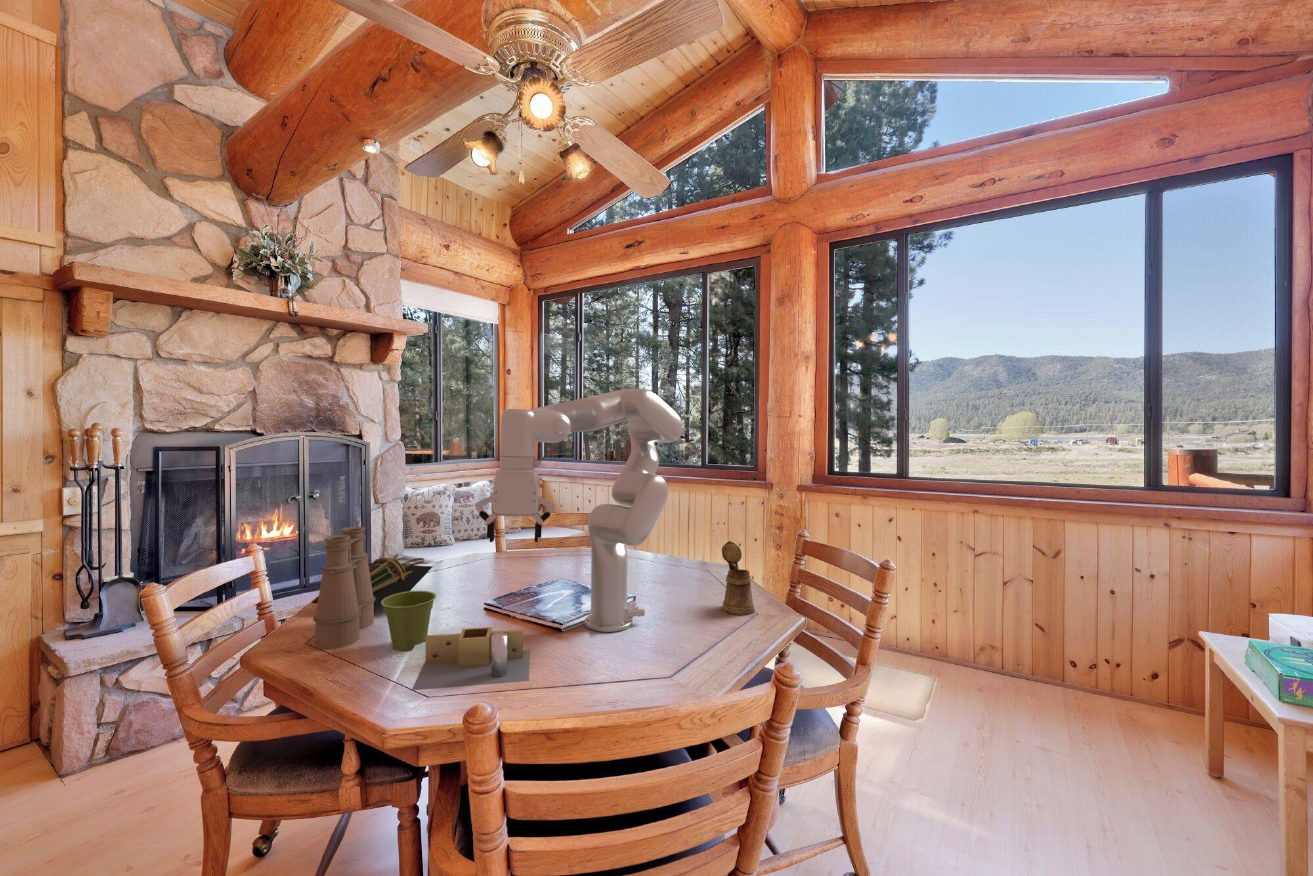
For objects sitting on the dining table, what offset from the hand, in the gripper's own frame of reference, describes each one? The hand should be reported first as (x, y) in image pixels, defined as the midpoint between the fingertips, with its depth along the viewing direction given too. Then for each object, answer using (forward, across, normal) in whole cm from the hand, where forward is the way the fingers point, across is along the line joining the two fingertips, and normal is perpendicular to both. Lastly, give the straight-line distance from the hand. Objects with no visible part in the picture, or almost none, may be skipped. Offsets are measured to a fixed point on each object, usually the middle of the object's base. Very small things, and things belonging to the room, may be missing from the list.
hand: (514, 541), depth 123 cm
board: (+27, +6, +6) cm, 28 cm away
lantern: (+27, +41, -49) cm, 69 cm away
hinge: (+26, +7, +2) cm, 27 cm away
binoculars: (+27, +41, -22) cm, 54 cm away
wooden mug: (+24, -62, -26) cm, 72 cm away
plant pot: (+27, +24, -12) cm, 38 cm away
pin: (+26, +1, +10) cm, 27 cm away
